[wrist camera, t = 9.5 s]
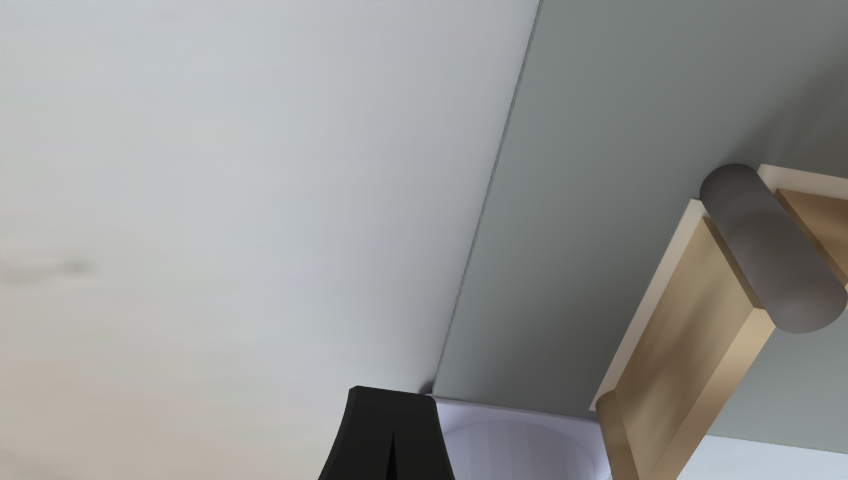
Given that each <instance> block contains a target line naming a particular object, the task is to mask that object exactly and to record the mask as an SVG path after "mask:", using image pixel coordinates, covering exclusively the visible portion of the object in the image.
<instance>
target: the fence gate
mask: <svg viewBox="0 0 848 480" xmlns="http://www.w3.org/2000/svg"><path fill="white" fill-rule="evenodd" d="M774 196H775V197H776V199H777V200H778V201H779V203H780V204H781V205H782V206H783V208H784V209H785V210H786V212H787V213H788V214H789V216H790V217H791V218H792V220H793V221H794V222H795V223H796V225H797V226H798V227H799V229H800V230H801V231H802V233H803V234H804V235H805V236H806V238H807V239H808V240H809V242H810V243H811V244H812V246H813V247H814V248H815V249H816V251H817V252H818V253H819V255H820V256H821V257H822V259H823V260H824V261H825V263H826V264H827V265H828V266H829V268H830V269H831V270H832V272H833V273H834V274H835V276H836V277H837V278H838V279H839V281H840V282H841V283H842V285H843V286H844V287H845V289H846V291H847V293H848V200H844V199H838V198H832V197H826V196H820V195H814V194H809V193H803V192H797V191H791V190H785V189H779V188H777V190H776V191H775V193H774ZM845 309H848V303H847V306H846V308H845Z"/></svg>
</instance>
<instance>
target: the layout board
mask: <svg viewBox="0 0 848 480" xmlns="http://www.w3.org/2000/svg"><path fill="white" fill-rule="evenodd" d="M733 163H740V164H745V165H748V166H750V167H751V168H753V169H754V170H755V171H756V173H757V174H758V175H759V176H760V178H761V179H762V180H763V182H764V183H765V184H766V186H767V187H768V188H769V190H770V191H771V192H772V193H773V195H774V193H775V191H776V190H777V188H779V189H785V190H791V191H797V192H803V193H809V194H814V195H820V196H826V197H832V198H838V199H844V200H848V0H541V1H540V4H539V8H538V12H537V15H536V19H535V22H534V26H533V29H532V33H531V37H530V40H529V44H528V47H527V51H526V55H525V58H524V62H523V65H522V69H521V72H520V76H519V80H518V83H517V87H516V90H515V94H514V97H513V101H512V105H511V108H510V112H509V115H508V119H507V123H506V126H505V130H504V133H503V137H502V140H501V144H500V148H499V151H498V155H497V158H496V162H495V165H494V169H493V173H492V176H491V180H490V183H489V187H488V191H487V194H486V198H485V201H484V205H483V208H482V212H481V216H480V219H479V223H478V226H477V230H476V233H475V237H474V241H473V244H472V248H471V251H470V255H469V258H468V262H467V266H466V269H465V273H464V276H463V280H462V284H461V287H460V291H459V294H458V298H457V301H456V305H455V309H454V312H453V316H452V319H451V323H450V326H449V330H448V334H447V337H446V341H445V344H444V348H443V352H442V355H441V359H440V362H439V366H438V369H437V373H436V377H435V380H434V384H433V387H432V397H434V398H441V399H449V400H456V401H463V402H471V403H478V404H485V405H493V406H500V407H507V408H515V409H522V410H529V411H536V412H544V413H551V414H558V415H566V416H573V417H580V418H588V419H595V420H598V416H597V412H596V408H595V404H596V401H597V400H598V398H599V397H600V396H601V395H603V394H604V393H606V392H608V391H611V390H614V389H615V387H616V385H617V383H618V381H619V379H620V377H621V375H622V373H623V371H624V369H625V367H626V365H627V363H628V361H629V359H630V357H631V355H632V353H633V351H634V349H635V347H636V345H637V343H638V341H639V339H640V337H641V335H642V333H643V331H644V329H645V327H646V325H647V323H648V321H649V319H650V317H651V316H652V314H653V312H654V310H655V308H656V306H657V304H658V302H659V300H660V298H661V296H662V294H663V292H664V290H665V288H666V286H667V284H668V282H669V280H670V278H671V276H672V274H673V272H674V270H675V268H676V266H677V264H678V262H679V260H680V258H681V256H682V254H683V252H684V250H685V248H686V246H687V244H688V242H689V240H690V238H691V236H692V234H693V232H694V230H695V228H696V226H697V224H698V222H699V221H700V219H701V217H705V218H711V217H710V216H709V214H708V212H707V211H706V209H705V207H704V206H703V204H702V202H701V200H700V194H699V193H700V188H701V185H702V183H703V181H704V180H705V178H706V177H707V176H708V175H709V174H710V173H711V172H713V171H714V170H715V169H717V168H719V167H721V166H724V165H727V164H733ZM705 435H712V436H719V437H726V438H734V439H741V440H748V441H756V442H763V443H770V444H778V445H785V446H792V447H799V448H807V449H814V450H821V451H829V452H836V453H843V454H848V309H845V310H844V311H843V313H842V314H841V315H840V316H839V317H838V318H837V319H836V320H835V321H834V322H832V323H831V324H829V325H828V326H826V327H824V328H822V329H819V330H817V331H813V332H809V333H802V334H794V333H788V332H785V331H782V330H780V329H779V328H777V327H775V329H774V330H773V332H772V333H771V335H770V337H769V338H768V340H767V341H766V343H765V344H764V346H763V347H762V349H761V350H760V352H759V353H758V355H757V356H756V358H755V359H754V361H753V362H752V364H751V366H750V367H749V369H748V370H747V372H746V373H745V375H744V376H743V378H742V379H741V381H740V382H739V384H738V385H737V387H736V388H735V390H734V391H733V393H732V395H731V396H730V398H729V399H728V401H727V402H726V404H725V405H724V407H723V408H722V410H721V411H720V413H719V414H718V416H717V417H716V419H715V421H714V422H713V424H712V425H711V427H710V428H709V430H708V431H707V433H706V434H705Z"/></svg>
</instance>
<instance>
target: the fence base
mask: <svg viewBox="0 0 848 480" xmlns="http://www.w3.org/2000/svg"><path fill="white" fill-rule="evenodd" d="M699 194H700V200H701V202H702V204H703V206H704V207H705V209H706V211H707V212H708V214H709V216H710V217H711V218H705V217H701V219H700V221H699V222H698V224H697V226H696V228H695V230H694V232H693V234H692V236H691V238H690V240H689V242H688V244H687V246H686V248H685V250H684V252H683V254H682V256H681V258H680V260H679V262H678V264H677V266H676V268H675V270H674V272H673V274H672V276H671V278H670V280H669V282H668V284H667V286H666V288H665V290H664V292H663V294H662V296H661V298H660V300H659V302H658V304H657V306H656V308H655V310H654V312H653V314H652V316H651V317H650V319H649V321H648V323H647V325H646V327H645V329H644V331H643V333H642V335H641V337H640V339H639V341H638V343H637V345H636V347H635V349H634V351H633V353H632V355H631V357H630V359H629V361H628V363H627V365H626V367H625V369H624V371H623V373H622V375H621V377H620V379H619V381H618V383H617V385H616V387H615V389H614V390H611V391H608V392H606V393H604V394H603V395H601V396H600V397H599V398H598V400H597V401H596V404H595V408H596V412H597V416H598V421H599V425H600V429H601V433H602V437H603V441H604V445H605V449H606V453H607V457H608V461H609V466H610V470H611V474H612V478H613V480H676V479H677V477H678V475H679V474H680V472H681V471H682V469H683V468H684V466H685V465H686V463H687V462H688V460H689V459H690V457H691V456H692V454H693V453H694V451H695V450H696V448H697V446H698V445H699V443H700V442H701V440H702V439H703V437H704V436H705V434H706V433H707V431H708V430H709V428H710V427H711V425H712V424H713V422H714V421H715V419H716V417H717V416H718V414H719V413H720V411H721V410H722V408H723V407H724V405H725V404H726V402H727V401H728V399H729V398H730V396H731V395H732V393H733V391H734V390H735V388H736V387H737V385H738V384H739V382H740V381H741V379H742V378H743V376H744V375H745V373H746V372H747V370H748V369H749V367H750V366H751V364H752V362H753V361H754V359H755V358H756V356H757V355H758V353H759V352H760V350H761V349H762V347H763V346H764V344H765V343H766V341H767V340H768V338H769V337H770V335H771V333H772V332H773V330H774V329H775V327H777V328H779V329H780V330H782V331H785V332H788V333H794V334H802V333H809V332H813V331H817V330H819V329H822V328H824V327H826V326H828V325H829V324H831V323H832V322H834V321H835V320H836V319H837V318H838V317H839V316H840V315H841V314H842V313H843V311H844V310H845V308H846V306H847V303H848V293H847V291H846V289H845V287H844V286H843V285H842V283H841V282H840V281H839V279H838V278H837V277H836V276H835V274H834V273H833V272H832V270H831V269H830V268H829V266H828V265H827V264H826V263H825V261H824V260H823V259H822V257H821V256H820V255H819V253H818V252H817V251H816V249H815V248H814V247H813V246H812V244H811V243H810V242H809V240H808V239H807V238H806V236H805V235H804V234H803V233H802V231H801V230H800V229H799V227H798V226H797V225H796V223H795V222H794V221H793V220H792V218H791V217H790V216H789V214H788V213H787V212H786V210H785V209H784V208H783V206H782V205H781V204H780V203H779V201H778V200H777V199H776V197H775V196H774V195H773V193H772V192H771V191H770V190H769V188H768V187H767V186H766V184H765V183H764V182H763V180H762V179H761V178H760V176H759V175H758V174H757V173H756V171H755V170H754V169H753V168H751V167H750V166H748V165H745V164H740V163H733V164H727V165H724V166H721V167H719V168H717V169H715V170H714V171H713V172H711V173H710V174H709V175H708V176H707V177H706V178H705V180H704V181H703V183H702V185H701V188H700V193H699Z"/></svg>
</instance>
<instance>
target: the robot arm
mask: <svg viewBox="0 0 848 480" xmlns="http://www.w3.org/2000/svg"><path fill="white" fill-rule="evenodd" d="M610 473H611V470H610V466H609V461H608V457H607V453H606V449H605V445H604V441H603V437H602V433H601V429H600V425H599V421H598V420H595V419H588V418H580V417H573V416H566V415H558V414H551V413H544V412H536V411H529V410H522V409H515V408H507V407H500V406H493V405H485V404H478V403H471V402H463V401H456V400H449V399H441V398H434V397H432V394H425V395H422V394H415V393H408V392H401V391H393V390H386V389H379V388H371V387H364V386H355V387H353V388H351V389H349V394H348V399H347V404H346V408H345V412H344V415H343V419H342V422H341V425H340V428H339V431H338V434H337V436H336V439H335V441H334V444H333V446H332V449H331V451H330V454H329V456H328V459H327V461H326V463H325V465H324V468H323V470H322V472H321V474H320V476H319V478H318V480H607V479H608V477H609V475H610Z"/></svg>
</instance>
